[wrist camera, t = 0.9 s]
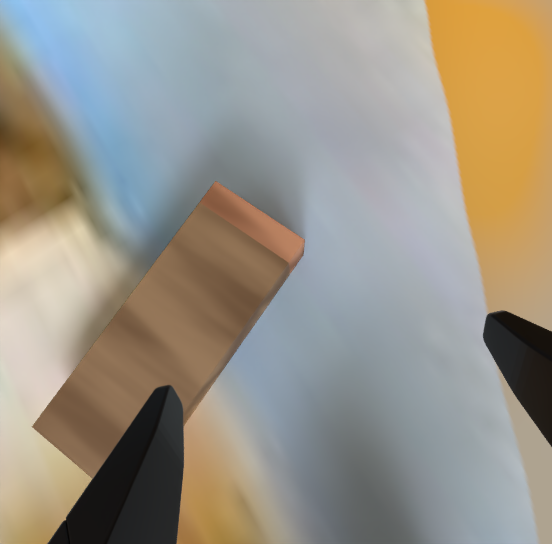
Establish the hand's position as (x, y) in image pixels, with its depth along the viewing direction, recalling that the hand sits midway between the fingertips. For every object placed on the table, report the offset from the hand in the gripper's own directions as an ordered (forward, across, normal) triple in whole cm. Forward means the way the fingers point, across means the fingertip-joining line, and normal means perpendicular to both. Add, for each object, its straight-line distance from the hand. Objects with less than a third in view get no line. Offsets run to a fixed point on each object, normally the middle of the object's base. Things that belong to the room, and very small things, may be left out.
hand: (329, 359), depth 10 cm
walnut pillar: (+13, +1, +2) cm, 13 cm away
